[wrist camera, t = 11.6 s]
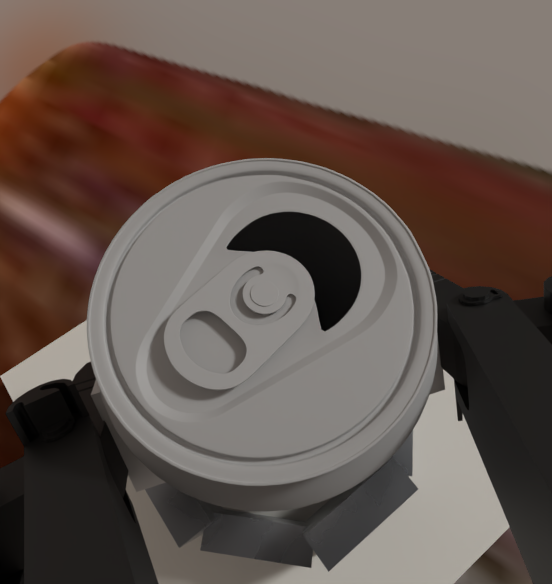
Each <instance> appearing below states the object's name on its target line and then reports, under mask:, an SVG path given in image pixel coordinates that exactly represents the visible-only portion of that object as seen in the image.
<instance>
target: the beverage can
mask: <svg viewBox="0 0 552 584" xmlns="http://www.w3.org/2000/svg"><path fill="white" fill-rule="evenodd" d="M87 340H88V349H89V355H90V360H91V364H92V368H93V372H94V375H95V378H96V381H97V383H98V385H99V388H100V392H101V396H102V400H103V402H104V405H105V408H106V410H107V412H108V415H109V417H110V419H111V421H112V423H113V425H114V427H115V429H116V431H117V432H118V434H119V435H120V437H121V438H122V440H123V441H124V442H125V444H126V445H127V447H128V448H129V449H130V451H131V452H132V453H133V454H134V455H135V456H136V457H137V458H138V459H139V460H140V461H141V462H142V463H143V464H144V465H145V466H146V467H147V468H148V469H149V470H150V471H151V472H152V473H154V474H155V475H156V476H157V477H159V478H160V479H162V480H163V481H164V482H166V483H168V484H169V485H171V486H172V487H174V488H176V489H177V490H179V491H181V492H183V493H185V494H187V495H189V496H191V497H194V498H196V499H199V500H202V501H205V502H208V503H211V504H214V505H217V506H222V507H226V508H231V509H237V510H246V511H280V510H289V509H295V508H300V507H305V506H308V505H312V504H315V503H319V502H322V501H324V500H327V499H330V498H332V497H335V496H337V495H339V494H341V493H343V492H345V491H347V490H349V489H351V488H352V487H354V486H356V485H357V484H359V483H360V482H362V481H364V480H365V479H367V478H368V477H369V476H370V475H372V474H373V473H374V472H376V471H377V470H378V469H379V468H380V467H381V466H383V465H384V464H385V463H386V462H387V461H388V460H389V459H390V458H391V457H392V456H393V455H394V454H395V453H396V451H397V450H398V449H399V448H400V447H401V446H402V445H403V443H404V442H405V441H406V439H407V438H408V436H409V435H410V433H411V432H412V430H413V429H414V427H415V425H416V424H417V422H418V420H419V418H420V416H421V414H422V412H423V409H424V407H425V405H426V402H427V400H428V397H429V394H430V391H431V388H432V384H433V380H434V375H435V370H436V364H437V343H438V337H437V301H436V295H435V289H434V284H433V280H432V276H431V273H430V270H429V267H428V265H427V263H426V261H425V258H424V256H423V254H422V252H421V250H420V248H419V246H418V244H417V242H416V240H415V238H414V237H413V235H412V233H411V232H410V230H409V229H408V227H407V226H406V225H405V224H404V222H403V221H402V220H401V219H400V218H399V216H398V215H397V214H396V213H395V212H394V211H393V210H392V209H391V208H390V207H389V206H388V205H387V204H386V203H385V202H384V201H383V200H381V199H380V198H379V197H378V196H376V195H375V194H374V193H373V192H371V191H370V190H368V189H367V188H365V187H364V186H362V185H360V184H359V183H357V182H355V181H354V180H352V179H350V178H348V177H346V176H344V175H342V174H340V173H337V172H335V171H332V170H330V169H327V168H324V167H321V166H318V165H314V164H310V163H306V162H301V161H295V160H286V159H275V158H259V159H245V160H238V161H232V162H227V163H222V164H218V165H215V166H211V167H208V168H205V169H202V170H200V171H197V172H194V173H192V174H190V175H188V176H186V177H184V178H182V179H180V180H178V181H176V182H174V183H172V184H170V185H169V186H167V187H166V188H164V189H163V190H161V191H160V192H158V193H157V194H156V195H154V196H153V197H151V198H150V199H149V200H148V201H146V202H145V203H144V204H143V205H142V206H141V207H140V208H139V209H138V210H137V211H136V212H135V213H134V214H133V215H132V216H131V217H130V218H129V219H128V220H127V222H126V223H125V224H124V225H123V226H122V228H121V229H120V230H119V232H118V233H117V234H116V236H115V237H114V239H113V240H112V242H111V244H110V245H109V247H108V249H107V250H106V252H105V254H104V256H103V258H102V260H101V262H100V265H99V267H98V270H97V272H96V275H95V278H94V281H93V285H92V288H91V293H90V298H89V303H88V312H87Z"/></svg>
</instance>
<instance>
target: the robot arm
mask: <svg viewBox="0 0 552 584" xmlns="http://www.w3.org/2000/svg"><path fill="white" fill-rule="evenodd" d="M429 270H430V269H429ZM430 273H431V276H432V280H433V284H434V289H435V295H436V301H437V337H438V343H437V364H436V370H435V375H434V380H433V384H432V388H431V391H430V394H433V393H436V392H439V391H442V390H445V383H444V374H443V369H444V370H445V371H446V372H447V373H448V374H449V375H450V376H451V377H453V378H454V386H455V397H456V407H457V418H458V421H463V415H464V418H465V420H466V422H467V425H468V427H469V430H470V432H471V435H472V437H473V439H474V442H475V444H476V447H477V449H478V451H479V454H480V456H481V459H482V461H483V464H484V466H485V468H486V471H487V473H488V476H489V478H490V480H491V483H492V485H493V488H494V490H495V492H496V495H497V497H498V500H499V502H500V505H501V507H502V509H503V512H504V514H505V517H506V519H507V521H508V524H509V526H510V529H511V531H512V534H513V536H514V538H515V541H516V543H517V546H518V548H519V550H520V553H521V555H522V558H523V560H524V563H525V565H526V567H527V570H528V572H529V575H530V577H531V579H532V582H533V584H552V277H549V278H548V279H547V280H546V281H545V282H544V297H538V298H531V299H524V300H515V301H513V300H512V299H511V298H510V297H509V295H508V294H506V293H505V292H503V291H502V290H499V289H496V288H492V287H481V286H479V287H468V288H462V287H460V286H458V285H456V284H455V283H453V282H451V281H449V280H448V279H444V277H442V276H440V275H439V274H436V273H435V272H433V271H432V270H430ZM430 394H429V395H430ZM6 415H7V417H8V419H9V421H10V422H11V424H12V426H13V428H14V429H15V431H16V433H17V435H18V436H19V438H20V440H21V442H22V443H23V445H24V456H23V457H21V458H20V459H18V460H16V461H14V462H12V463H10V464H8V465H6V466H4V467H2V468H0V584H159V583H158V580H157V577H156V574H155V571H154V568H153V565H152V562H151V559H150V556H149V553H148V550H147V547H146V544H145V541H144V537H143V534H142V531H141V528H140V525H139V522H138V519H137V516H136V513H135V510H134V507H133V504H132V502H131V500H130V498H129V496H128V493H127V491H126V484H127V477H128V475H129V477H130V480H131V482H132V484H133V486H134V488H135V490H136V492H139V491H142V490H145V489H148V488H151V487H154V486H157V485H160V484H163V483H166V482H164V481H163V480H162V479H160V478H159V477H157V476H156V475H155V474H154V473H152V472H151V471H150V470H149V469H148V468H147V467H146V466H145V465H144V464H143V463H142V462H141V461H140V460H139V459H138V458H137V457H136V456H135V455H134V454H133V453H132V452H131V451H130V449H129V448H128V447H127V445H126V444H125V442H124V441H123V440H122V438H121V437H120V435H119V434H118V432H117V431H116V429H115V427H114V425H113V423H112V421H111V419H110V417H109V415H108V412H107V410H106V408H105V405H104V402H103V400H102V396H101V392H100V388H99V385H98V383H97V381H96V378H95V375H94V372H93V368H92V364H91V362H88V363H86V364H85V365H84V366H83V367H82V368H81V369H80V370H79V371H78V372H77V373H76V374H75V377H74V379H73V381H71V380H69V379H59V380H53V381H50V382H47V383H44V384H41V385H39V386H37V387H35V388H33V389H31V390H29V391H27V392H26V393H24V394H23V395H21V396H20V397H19V398H17V399H16V400H15V401H14V402H13V403H12V404H11V405H10V406H9V407H8V410H7V412H6Z"/></svg>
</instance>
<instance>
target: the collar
mask: <svg viewBox="0 0 552 584" xmlns="http://www.w3.org/2000/svg"><path fill="white" fill-rule="evenodd" d="M412 472H413V430H412V432H411V433H410V435H409V436H408V438H407V439H406V441H405V442H404V443H403V445H402V446H401V447H400V448H399V449H398V450H397V451H396V453H395V454H394V455H393V456H392V457H391V458H390V459H389V460H388V461H387V462H386V463H385V464H384V465H383V466H381V467H380V468H379V469H378V470H377V471H376V472H374V473H373V474H372V475H370V476H369V477H368V478H367V479H365V480H364V481H362V482H360V483H359V484H357V485H356V486H354V487H352V488H351V489H349V490H347V491H345V492H343V493H341V494H339V495H337V496H335V497H333V498H331V499H330V500H329V501H328V502H327V503H326V504H324V505H323V506H322V507H321V508H320V509H319V510H318V511H316V512H315V513H314V514H313V515H312V516H311V517H310V518H308V519H307V520H306V521H299V520H292V519H285V518H279V517H272V516H266V515H259V514H252V513H246V512H239V511H232V510H226V509H223V508H222V507H221V506H217V505H214V504H211V503H208V502H205V501H202V500H199V499H196V498H194V497H191V496H189V495H187V494H185V493H183V492H181V491H179V490H177V489H176V488H174V487H172V486H171V485H169V484H168V483H163V484H160V485H157V486H154V487H151V488H148V489H145V491H146V492H147V494H148V496H149V498H150V499H151V501H152V503H153V504H154V506H155V508H156V510H157V511H158V513H159V515H160V516H161V518H162V520H163V521H164V523H165V525H166V527H167V528H168V530H169V532H170V533H171V535H172V537H173V539H174V540H175V542H176V544H177V545H178V547H179V548H180V547H182V546H184V545H185V544H187V543H189V542H191V541H192V540H194V539H196V538H197V537H199V536H201V535H202V534H203V537H202V543H201V548H200V550H201V551H207V552H213V553H220V554H226V555H232V556H238V557H245V558H251V559H257V560H264V561H270V562H276V563H283V564H289V565H295V566H301V567H308V568H311V566H312V554H313V550H314V552H315V553H316V555H317V556H318V557H319V559H320V560H321V562H322V563H323V565H324V566H325V567H326V569H327V570H328V572H329V571H330V570H331V569H332V568H333V567H334V566H336V565H337V564H338V563H339V562H340V561H341V560H342V559H343V558H344V557H345V556H346V555H348V554H349V553H350V552H351V551H352V550H353V549H354V548H355V547H356V546H357V545H358V544H360V543H361V542H362V541H363V540H364V539H365V538H366V537H367V536H368V535H369V534H370V533H371V532H373V531H374V530H375V529H376V528H377V527H378V526H379V525H380V524H381V523H382V522H383V521H385V520H386V519H387V518H388V517H389V516H390V515H391V514H392V513H393V512H394V511H395V510H397V509H398V508H399V507H400V506H401V505H402V504H403V503H404V502H405V501H406V500H407V499H408V498H410V497H411V496H412V495H413V494H414V493H415V492H416V491H417V490H418V488H417V486H416V485H415V484H414V483H413V482H412V480H411V479H410V478H409V477H411V476H412Z"/></svg>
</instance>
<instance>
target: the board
mask: <svg viewBox="0 0 552 584" xmlns="http://www.w3.org/2000/svg"><path fill="white" fill-rule="evenodd" d="M88 362H91V360H90V355H89V349H88V340H87V320H86V321H85V322H83V323H81V324H80V325H78V326H77V327H75V328H74V329H72V330H71V331H69V332H68V333H66V334H65V335H63V336H61V337H60V338H58V339H57V340H55V341H54V342H52V343H51V344H49V345H48V346H46V347H44V348H43V349H41V350H40V351H38V352H37V353H35V354H34V355H32V356H31V357H29V358H28V359H26V360H24V361H23V362H21V363H20V364H18V365H17V366H15V367H14V368H12V369H11V370H9V371H8V372H6V373H4V374H3V375H1V376H0V377H1V379H2V381H3V383H4V385H5V387H6V389H7V391H8V393H9V395H10V396H11V398H12V400H13V402H14V401H15V400H16V399H17V398H19V397H20V396H21V395H23V394H24V393H26V392H27V391H29V390H31V389H33V388H35V387H37V386H39V385H41V384H44V383H47V382H50V381H53V380H59V379H69V380H71V381H73V379H74V377H75V374H76V373H77V372H78V371H79V370H80V369H81V368H82V367H83V366H84V365H85V364H86V363H88ZM443 374H444V383H445V390H442V391H439V392H436V393H433V394H430V395H429V397H428V400H427V402H426V405H425V407H424V409H423V412H422V414H421V416H420V418H419V420H418V422H417V424H416V425H415V427H414V429H413V472H412V476H411V477H409V478H410V479H411V480H412V482H413V483H414V484H415V485H416V486H417V488H418V490H417V491H416V492H415V493H414V494H413V495H412V496H411V497H410V498H408V499H407V500H406V501H405V502H404V503H403V504H402V505H401V506H400V507H399V508H398V509H397V510H395V511H394V512H393V513H392V514H391V515H390V516H389V517H388V518H387V519H386V520H385V521H383V522H382V523H381V524H380V525H379V526H378V527H377V528H376V529H375V530H374V531H373V532H371V533H370V534H369V535H368V536H367V537H366V538H365V539H364V540H363V541H362V542H361V543H360V544H358V545H357V546H356V547H355V548H354V549H353V550H352V551H351V552H350V553H349V554H348V555H346V556H345V557H344V558H343V559H342V560H341V561H340V562H339V563H338V564H337V565H336V566H334V567H333V568H332V569H331V570H330V571H329V572H328V570H327V569H326V567H325V566H324V565H323V563H322V562H321V560H320V559H319V557H318V556H317V555H316V553H315V552H314V550H313V554H312V566H311V568H308V567H301V566H295V565H289V564H283V563H276V562H270V561H264V560H257V559H251V558H245V557H238V556H232V555H226V554H220V553H213V552H207V551H201V550H200V548H201V543H202V537H203V534H202V535H201V536H199V537H197V538H196V539H194V540H192V541H191V542H189V543H187V544H185V545H184V546H182V547H180V548H179V547H178V545H177V544H176V542H175V540H174V539H173V537H172V535H171V533H170V532H169V530H168V528H167V527H166V525H165V523H164V521H163V520H162V518H161V516H160V515H159V513H158V511H157V510H156V508H155V506H154V504H153V503H152V501H151V499H150V498H149V496H148V494H147V492H146V491H145V490H142V491H139V492H136V490H135V488H134V486H133V484H132V482H131V480H130V477H129V475H128V477H127V484H126V491H127V493H128V496H129V498H130V500H131V502H132V504H133V507H134V510H135V513H136V516H137V519H138V522H139V525H140V528H141V531H142V534H143V537H144V541H145V544H146V547H147V550H148V553H149V556H150V559H151V562H152V565H153V568H154V571H155V574H156V577H157V580H158V583H159V584H454V583H455V582H456V581H457V579H458V578H459V577H460V576H461V575H462V574H463V573H464V572H465V571H466V570H467V569H468V568H469V567H470V566H471V565H472V564H473V563H474V562H475V561H476V560H477V559H478V558H479V557H480V556H481V555H482V554H483V553H484V552H485V551H486V550H487V549H488V548H489V547H490V546H491V545H492V544H493V543H494V542H495V541H496V540H497V539H498V538H499V537H500V536H501V535H502V534H503V533H504V532H505V531H506V530H507V529H508V528H509V527H510V526H509V524H508V521H507V519H506V517H505V514H504V512H503V509H502V507H501V505H500V502H499V500H498V497H497V495H496V492H495V490H494V488H493V485H492V483H491V480H490V478H489V476H488V473H487V471H486V468H485V466H484V464H483V461H482V459H481V456H480V454H479V451H478V449H477V447H476V444H475V442H474V439H473V437H472V435H471V432H470V430H469V427H468V425H467V422H466V420H465V418H464V415H463V421H458V418H457V407H456V397H455V386H454V378H453V377H451V376H450V375H449V374H448V373H447V372H446V371H445V370H444V369H443ZM332 498H333V497H332ZM330 499H331V498H330ZM330 499H327V500H324V501H322V502H319V503H315V504H312V505H308V506H305V507H300V508H295V509H289V510H280V511H246V510H237V509H231V508H226V507H222V506H221V507H222V508H223V509H226V510H232V511H239V512H246V513H252V514H259V515H266V516H272V517H279V518H285V519H292V520H299V521H306V520H307V519H308V518H310V517H311V516H312V515H313V514H314V513H315V512H316V511H318V510H319V509H320V508H321V507H322V506H323V505H324V504H326V503H327V502H328V501H329V500H330Z"/></svg>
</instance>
